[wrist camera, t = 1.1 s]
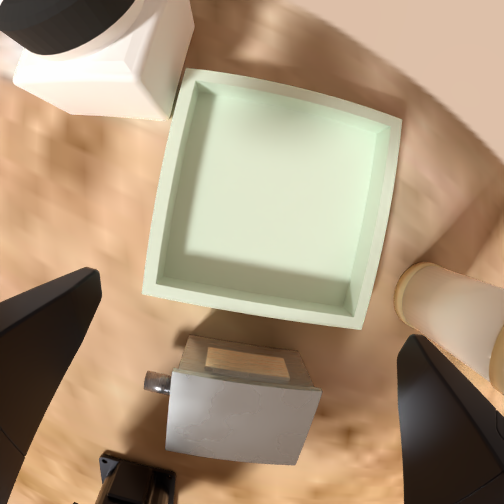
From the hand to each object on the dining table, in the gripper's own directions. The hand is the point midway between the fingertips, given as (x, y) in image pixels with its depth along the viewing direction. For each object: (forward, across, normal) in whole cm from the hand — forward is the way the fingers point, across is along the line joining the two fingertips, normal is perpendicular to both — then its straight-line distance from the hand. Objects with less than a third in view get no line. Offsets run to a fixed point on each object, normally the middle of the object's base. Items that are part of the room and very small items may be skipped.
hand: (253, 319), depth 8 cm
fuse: (+11, -12, +5) cm, 17 cm away
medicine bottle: (+13, +10, -6) cm, 18 cm away
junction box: (+7, 0, +12) cm, 14 cm away
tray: (+12, 0, +1) cm, 12 cm away
